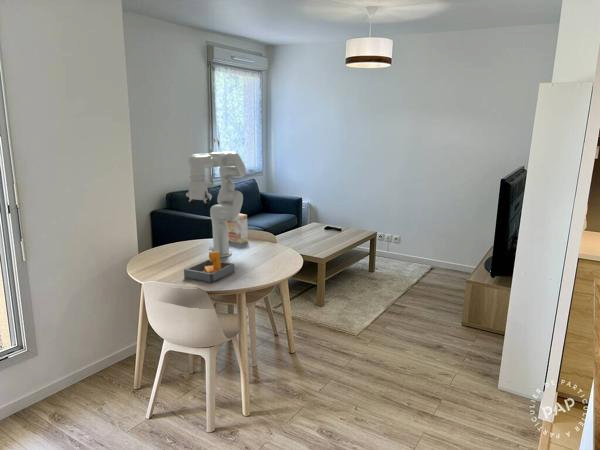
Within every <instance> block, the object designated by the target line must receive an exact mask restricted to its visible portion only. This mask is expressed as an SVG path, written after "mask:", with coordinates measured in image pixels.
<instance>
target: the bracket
mask: <svg viewBox="0 0 600 450" xmlns="http://www.w3.org/2000/svg"><path fill="white" fill-rule="evenodd" d="M208 258H209V259H208V260H210V262H213V265H212V266H205V267H204V270H205V272H206V273H213V272H215V271H217V270H219V269H221V262H222V261H221V257H220V254H219V251H213V252H212V251H209V253H208Z"/></svg>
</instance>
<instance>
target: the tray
mask: <svg viewBox="0 0 600 450" xmlns="http://www.w3.org/2000/svg"><path fill="white" fill-rule="evenodd" d="M212 265H213V262H210V259H206V260H204V261H201V262H198V263H196V264H193V265H191V266H189V267H186V268H184V269H183V276H184V278H183V279H186V280H190V281H195V282H201V283H206V284H211V285H212V283H213V284H214V282H215V283H216V282H219V281H221V280H223V279H224V278H227V277H228V276H230V275H232V274H235V263H233V262H225V261H221V269H219V270H217V271H215V272H213V273H206V272H205V270H204V267H205V266H212Z"/></svg>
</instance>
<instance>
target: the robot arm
mask: <svg viewBox="0 0 600 450" xmlns="http://www.w3.org/2000/svg"><path fill="white" fill-rule="evenodd" d="M187 161H188V165H189V168H190V169H189V170H190V176H189V179H190V181H189V184H188V192H186V193H185V196H186V198H187V200H188V202H189V210H193V209H195V207H196V206H195V205H196V204H195V203H196V202H195V201H194V200H197V201H198V200H199V201H203V210H204V211H205V212H206V211H209V214H210V215H209V216H210V218H211V225H212V227H211V228H212V245H213V246H210V247H209V248H208V250H209V251H211V252H213V251H219V254H220V258H226V257H230V256H232V251H231V250H230V243H229V242H230V241H229V236H228V225H227V223H226V221H235V220H237V218H238V216H239V213H240V212H241V209H242V206H243V201H244V195H243V193H242V192H241V191H239V190H235V188H236V185H235V183H234V181H233V180H232V179H231V178H243V177H245V176H246V174H247V173H246V172H247V168H246V166H245V164H244V162H243V160H242V158H241V156H240V154H239V153H237V152H236V151H218V152H217V151H216V152H207V153H194V154H190V155H189V157H188V160H187ZM210 168H219V169H218V172H219V176H220V180H221V181H220V182H221V185H220V189H219V192H218V194H217V198H216V199H217V200H216V201H217V202H216V203H218V204H214V205H212V206H211V207H209V206H210V205H209V204H210V202H211V200H212V198H213V195H212V194H211V193H209V192H208V185H207V181H206V176H205V175H206V174H205V169H210ZM240 214H241V213H240Z"/></svg>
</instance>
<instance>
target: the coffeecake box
mask: <svg viewBox="0 0 600 450" xmlns="http://www.w3.org/2000/svg"><path fill="white" fill-rule="evenodd" d="M225 222H226V223H227V225H228V236H229V242H232V243H235V244H239V245H242V244H247V243H248V242H249V237H248V236H249V234H248V231H249V230H248V214H245V213H244V214H243V213H239V216H238V218H237V220H235V221H226V220H225Z"/></svg>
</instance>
